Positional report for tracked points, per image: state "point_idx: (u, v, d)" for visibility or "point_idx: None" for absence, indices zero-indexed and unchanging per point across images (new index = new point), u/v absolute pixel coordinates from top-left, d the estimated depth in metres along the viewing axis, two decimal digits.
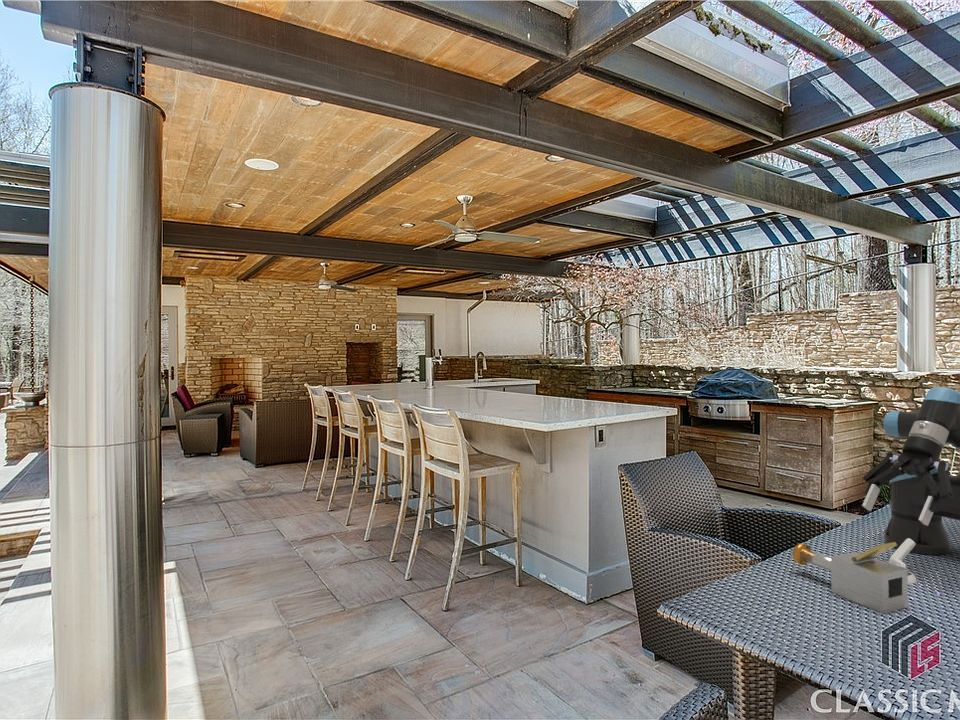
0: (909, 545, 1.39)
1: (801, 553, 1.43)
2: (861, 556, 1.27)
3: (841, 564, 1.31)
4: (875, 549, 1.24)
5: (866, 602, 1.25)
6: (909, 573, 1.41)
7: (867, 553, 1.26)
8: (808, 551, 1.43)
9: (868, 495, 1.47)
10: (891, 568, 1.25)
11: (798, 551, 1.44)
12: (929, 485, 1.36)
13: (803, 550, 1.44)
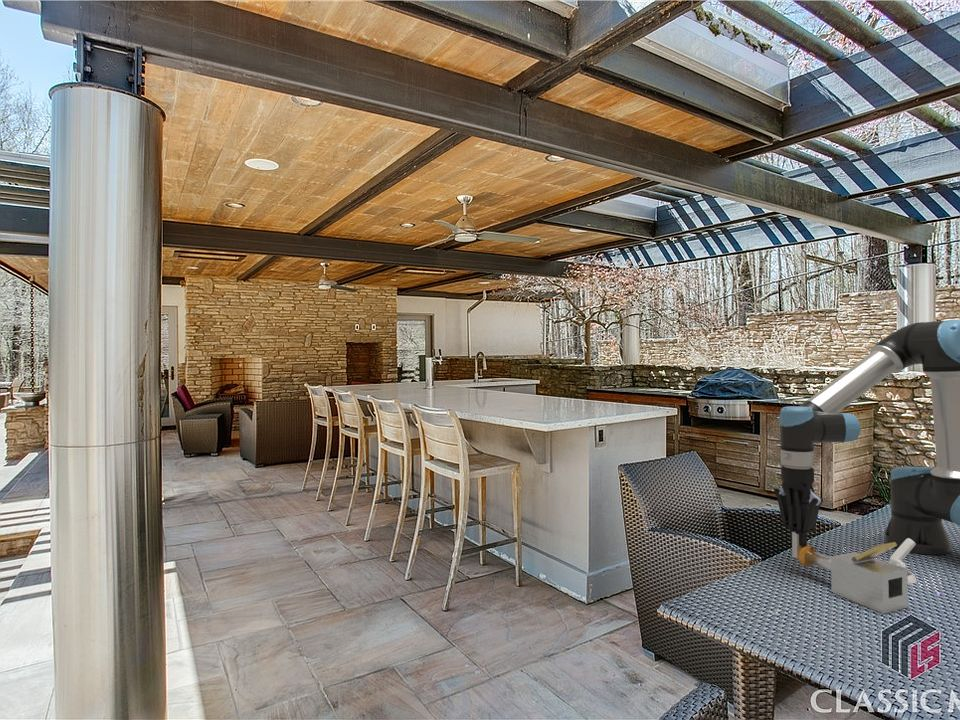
0: (909, 545, 1.39)
1: (806, 555, 1.42)
2: (861, 556, 1.27)
3: (841, 564, 1.31)
4: (875, 549, 1.24)
5: (866, 602, 1.25)
6: (909, 573, 1.41)
7: (867, 553, 1.26)
8: (813, 553, 1.41)
9: (793, 545, 1.46)
10: (891, 568, 1.25)
11: (803, 553, 1.42)
12: (798, 520, 1.44)
13: (808, 552, 1.42)
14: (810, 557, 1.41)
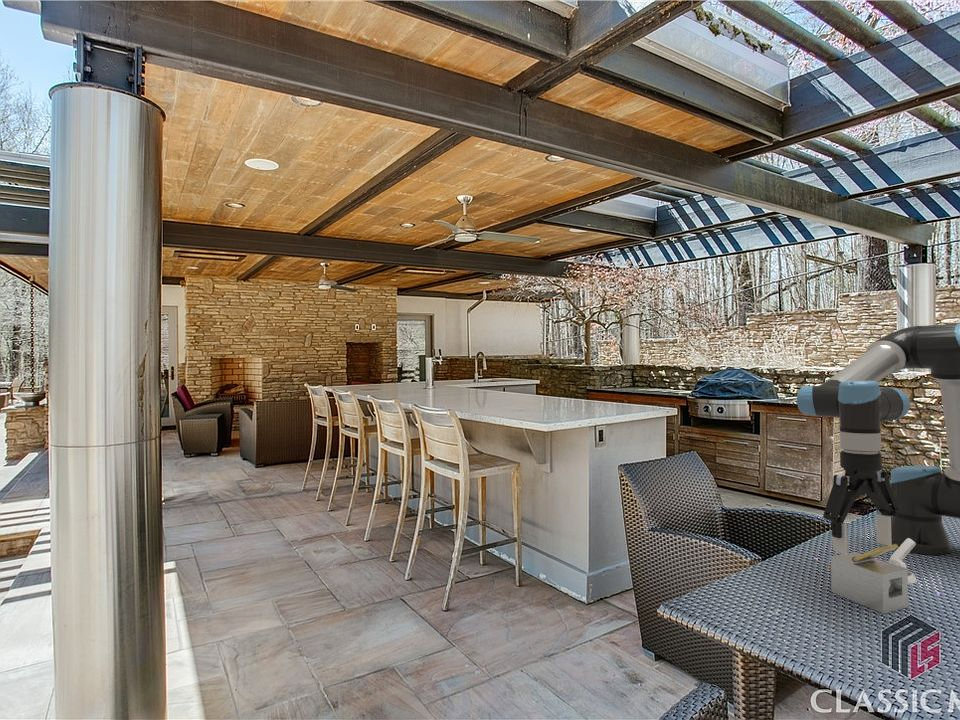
0: (909, 545, 1.39)
1: None
2: (861, 557, 1.27)
3: (841, 564, 1.31)
4: (876, 551, 1.24)
5: (866, 602, 1.25)
6: (909, 573, 1.41)
7: (868, 554, 1.26)
8: None
9: None
10: (891, 568, 1.25)
11: None
12: None
13: None
14: None
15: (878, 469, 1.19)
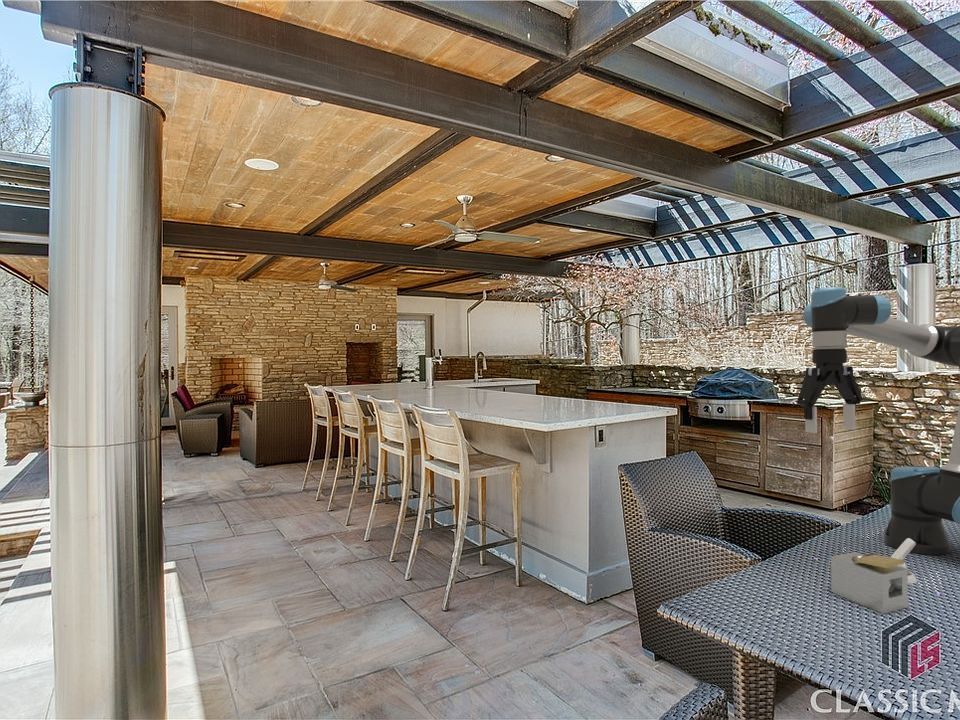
0: (909, 545, 1.39)
1: None
2: (863, 562, 1.27)
3: (841, 564, 1.31)
4: (881, 566, 1.23)
5: (866, 602, 1.25)
6: (909, 573, 1.41)
7: (871, 563, 1.25)
8: None
9: None
10: (891, 568, 1.25)
11: None
12: None
13: None
14: None
15: (843, 361, 1.41)
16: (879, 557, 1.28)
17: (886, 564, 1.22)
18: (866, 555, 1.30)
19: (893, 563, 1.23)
